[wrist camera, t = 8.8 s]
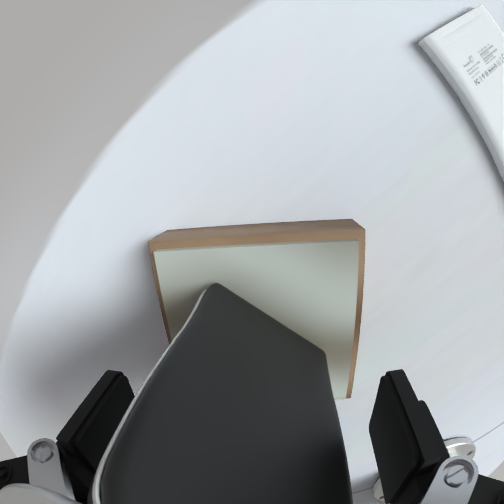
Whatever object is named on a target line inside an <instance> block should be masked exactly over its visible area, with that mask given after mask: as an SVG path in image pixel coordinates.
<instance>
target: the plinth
mask: <svg viewBox="0 0 504 504" xmlns="http://www.w3.org/2000/svg"><path fill="white" fill-rule="evenodd" d="M148 244H149V250H150V256H151V262H152V267H153V273H154V278H155V283H156V288H157V293H158V297H159V302H160V307H161V311H162V316H163V320H164V324H165V328H166V332H167V337H168V340H169V344H171V342H172V341H173V339H174V338H175V337H176V336H177V334H178V333H179V332H180V330H181V329H182V327H183V326H184V324H185V323H186V321H187V319H188V317H189V316H190V314H191V313H192V311H193V309H194V307H195V305H196V303H197V301H198V299H199V297H200V295H201V294H202V293H203V291H204V290H207V289H208V288H209V286H210V285H211V284H213V283H219V284H221V285H223V286H224V287H226V288H227V289H229V290H230V291H232V292H233V293H235V294H236V295H238V296H240V297H241V298H243V299H244V300H246V301H247V302H249V303H250V304H252V305H253V306H255V307H256V308H258V309H260V310H261V311H263V312H264V313H266V314H267V315H269V316H271V317H272V318H274V319H275V320H277V321H278V322H280V323H281V324H283V325H284V326H286V327H288V328H289V329H291V330H292V331H294V332H295V333H297V334H298V335H300V336H302V337H303V338H305V339H306V340H308V341H309V342H311V343H313V344H314V345H316V346H317V347H319V348H320V349H322V350H323V351H324V352H325V354H326V358H327V364H328V370H329V375H330V381H331V386H332V391H333V396H334V400H338V399H346V398H351V393H352V387H353V380H354V373H355V366H356V359H357V351H358V343H359V334H360V324H361V313H362V300H363V284H364V264H365V229H364V228H363V227H362V226H360V225H359V224H358V223H356V222H355V221H354V220H353V219H341V220H318V221H298V222H279V223H262V224H246V225H231V226H216V227H202V228H189V229H177V230H167V231H165V232H164V233H162V234H160V235H159V236H157V237H155V238H154V239H152V240H151V241H149V242H148Z"/></svg>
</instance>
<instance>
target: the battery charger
mask: <svg viewBox="0 0 504 504" xmlns="http://www.w3.org/2000/svg"><path fill="white" fill-rule="evenodd" d="M87 504H353V500H352V491H351V483H350V475H349V469H348V463H347V457H346V451H345V446H344V441H343V436H342V432H341V427H340V422H339V417H338V413H337V409H336V405H335V401H334V396H333V391H332V386H331V381H330V375H329V370H328V364H327V358H326V354H325V352H324V351H323V350H322V349H320V348H319V347H317V346H316V345H314V344H313V343H311V342H309V341H308V340H306V339H305V338H303V337H302V336H300V335H298V334H297V333H295V332H294V331H292V330H291V329H289V328H288V327H286V326H284V325H283V324H281V323H280V322H278V321H277V320H275V319H274V318H272V317H271V316H269V315H267V314H266V313H264V312H263V311H261V310H260V309H258V308H256V307H255V306H253V305H252V304H250V303H249V302H247V301H246V300H244V299H243V298H241V297H240V296H238V295H236V294H235V293H233V292H232V291H230V290H229V289H227V288H226V287H224V286H223V285H221V284H219V283H213V284H211V285H210V286H209V288H208V289H207V290H204V291H203V293H202V294H201V295H200V297H199V299H198V301H197V303H196V305H195V307H194V309H193V311H192V313H191V314H190V316H189V317H188V319H187V321H186V323H185V324H184V326H183V327H182V329H181V330H180V332H179V333H178V334H177V336H176V337H175V338H174V339H173V341H172V342H171V344H170V345H169V347H168V348H167V349H166V351H165V352H164V354H163V355H162V356H161V358H160V359H159V361H158V362H157V364H156V365H155V367H154V368H153V370H152V371H151V372H150V374H149V375H148V377H147V378H146V380H145V381H144V383H143V385H142V386H141V388H140V389H139V391H138V393H137V394H136V396H135V397H134V399H133V401H132V402H131V404H130V406H129V408H128V409H127V411H126V413H125V415H124V416H123V418H122V420H121V422H120V424H119V426H118V427H117V429H116V431H115V433H114V435H113V437H112V439H111V441H110V443H109V445H108V447H107V449H106V451H105V453H104V455H103V457H102V459H101V461H100V463H99V466H98V468H97V470H96V472H95V474H94V476H93V479H92V483H91V486H90V489H89V493H88V497H87Z"/></svg>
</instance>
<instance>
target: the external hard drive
mask: <svg viewBox="0 0 504 504" xmlns="http://www.w3.org/2000/svg"><path fill="white" fill-rule="evenodd" d="M418 45H419V46H420V47H421V48H422V49H423V50H424V52H425V53H426V54H427V55H428V57H429V58H430V59H431V60H432V62H433V63H434V64H435V65H436V67H437V68H438V69H439V71H440V72H441V73H442V75H443V76H444V77H445V79H446V80H447V82H448V83H449V84H450V86H451V87H452V89H453V90H454V92H455V93H456V95H457V96H458V98H459V99H460V101H461V102H462V104H463V106H464V107H465V109H466V110H467V112H468V114H469V115H470V117H471V119H472V120H473V122H474V124H475V125H476V127H477V129H478V131H479V133H480V134H481V136H482V138H483V140H484V142H485V144H486V146H487V148H488V150H489V152H490V154H491V156H492V158H493V160H494V162H495V164H496V166H497V168H498V171H499V173H500V175H501V177H502V180H503V182H504V33H503V32H502V30H501V29H500V27H499V26H498V25H497V23H496V22H495V21H494V20H493V18H492V17H491V15H490V14H489V13H488V12H487V11H486V9H485V8H484V7H483V6H482V5H480V6H478V7H476V8H474V9H472V10H471V11H469V12H467V13H465V14H463V15H462V16H460V17H458V18H456V19H454V20H453V21H451V22H449V23H447V24H446V25H444V26H442V27H441V28H439V29H437V30H436V31H434V32H432V33H431V34H429V35H427V36H426V37H424V38H423V39H422V40H420V41H419V42H418Z"/></svg>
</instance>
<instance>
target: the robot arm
mask: <svg viewBox="0 0 504 504" xmlns="http://www.w3.org/2000/svg"><path fill="white" fill-rule="evenodd" d="M134 397H135V396H134V393H133V391H132V389H131V386H130V384H129V381H128V379H127V377H126V376H124V374H123V373H122V372H119V371H112V370H107V371H106V372H105V373H104V375H103V376H102V377H101V379H100V380H99V381H98V382H97V384H96V385H95V386H94V388H93V389H92V390H91V392H90V393H89V394H88V396H87V397H86V398H85V399H84V401H83V402H82V403H81V405H80V406H79V407H78V409H77V410H76V411H75V413H74V414H73V415H72V417H71V418H70V420H69V421H68V422H67V424H66V425H65V426H64V428H63V429H62V430H61V432H60V433H59V435H58V436H57V437H56V439H57V440H58V441H57V442H56V443H55V442H54V441H52V440H51V439H47V438H43V439H39V440H36V441H35V442H33V443H32V444H31V445H30V447H29V449H28V452H27V456H23V457H18V458H14V459H10V460H5V461H1V462H0V504H87V497H88V493H89V489H90V486H91V483H92V479H93V476H94V474H95V472H96V470H97V468H98V466H99V463H100V461H101V459H102V457H103V455H104V453H105V451H106V449H107V447H108V445H109V443H110V441H111V439H112V437H113V435H114V433H115V431H116V429H117V427H118V426H119V424H120V422H121V420H122V418H123V416H124V415H125V413H126V411H127V409H128V408H129V406H130V404H131V402H132V401H133V399H134ZM369 433H370V437H371V441H372V445H373V449H374V454H375V458H376V462H377V467H378V471H379V476H380V478H379V479H378V480H377V482H376V483H375V485H374V488H373V490H374V496H375V498H376V499H378V500H379V501H383V502H385V503H386V504H389V503H390V504H504V482H503V481H499V480H496V479H492V478H489V477H486V476H483V475H480V474H478V467H477V465H476V463H475V462H474V461H473V460H472V458H473V457H474V454H475V452H476V447H475V445H474V443H473V441H472V440H471V439H469V438H455V439H450V440H447V441H443V439H442V437H441V434H440V432H439V430H438V428H437V426H436V423H435V421H434V419H433V417H432V415H431V413H430V411H429V409H428V407H427V405H426V403H425V402H424V401H423V400H420V401H418V399H417V397H416V395H415V393H414V391H413V389H412V387H411V384H410V382H409V380H408V378H407V376H406V374H405V372H404V371H403V370H402V369H400V370H394V371H388V372H386V375H385V376H382V377H381V379H380V384H379V388H378V392H377V397H376V401H375V405H374V409H373V412H372V416H371V420H370V423H369Z"/></svg>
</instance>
